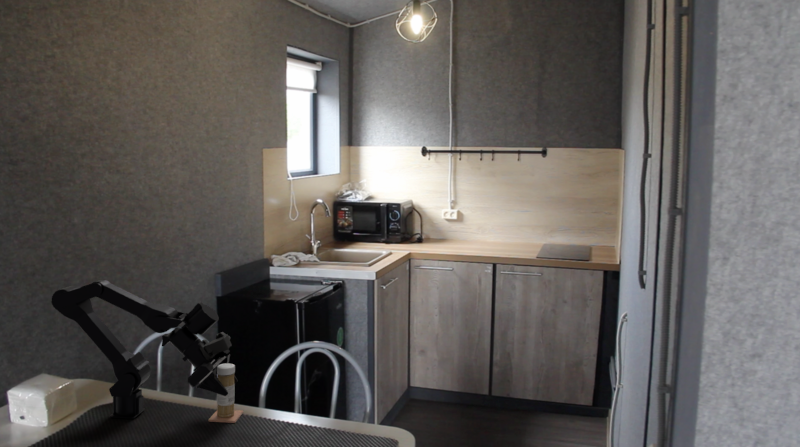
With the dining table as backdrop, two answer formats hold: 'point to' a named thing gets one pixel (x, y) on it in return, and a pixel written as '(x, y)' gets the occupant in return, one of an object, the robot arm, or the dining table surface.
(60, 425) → the dining table surface
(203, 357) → the robot arm
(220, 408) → the sprinkles bottle
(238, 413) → the tile
